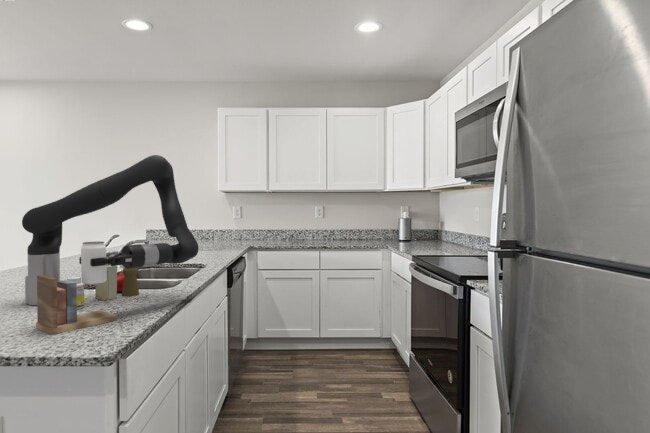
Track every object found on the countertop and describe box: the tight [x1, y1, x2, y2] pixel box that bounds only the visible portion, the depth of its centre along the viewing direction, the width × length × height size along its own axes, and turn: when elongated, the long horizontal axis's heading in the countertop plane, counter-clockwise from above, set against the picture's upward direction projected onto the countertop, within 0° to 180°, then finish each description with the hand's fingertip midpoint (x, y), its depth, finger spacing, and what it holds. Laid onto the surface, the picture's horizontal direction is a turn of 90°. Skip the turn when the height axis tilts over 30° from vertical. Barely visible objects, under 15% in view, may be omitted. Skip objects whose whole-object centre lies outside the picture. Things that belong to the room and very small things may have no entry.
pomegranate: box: [117, 271, 124, 294], centre depth 160 cm, size 10×10×9 cm
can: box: [80, 241, 107, 286], centre depth 119 cm, size 6×6×12 cm
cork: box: [121, 266, 140, 297], centre depth 155 cm, size 6×6×11 cm
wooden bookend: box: [35, 275, 117, 336], centre depth 116 cm, size 17×10×14 cm, turn 144°
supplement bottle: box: [66, 276, 85, 310], centre depth 134 cm, size 6×6×10 cm
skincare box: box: [94, 265, 118, 301], centre depth 148 cm, size 6×4×12 cm
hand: (85, 261), depth 117 cm, fingers closed on can, 6 cm apart
